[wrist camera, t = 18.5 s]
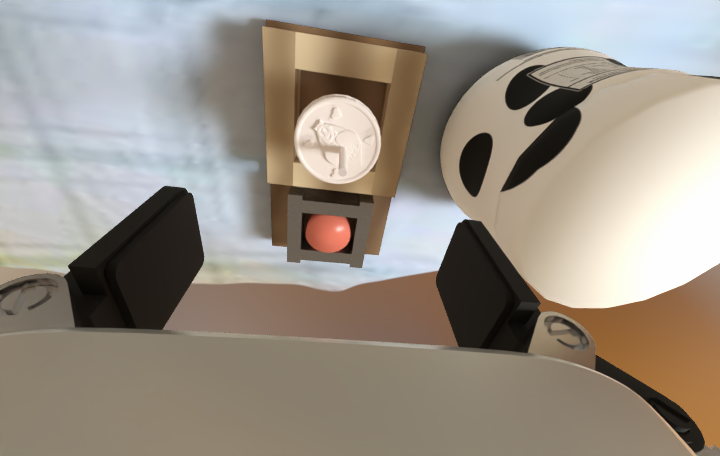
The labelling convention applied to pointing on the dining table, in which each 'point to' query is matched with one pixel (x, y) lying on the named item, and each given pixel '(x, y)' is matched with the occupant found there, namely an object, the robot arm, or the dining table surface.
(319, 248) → the button
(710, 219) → the milk container
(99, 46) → the dining table surface
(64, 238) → the dining table surface
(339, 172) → the smoothie
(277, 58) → the wooden tray with button
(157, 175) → the dining table surface
